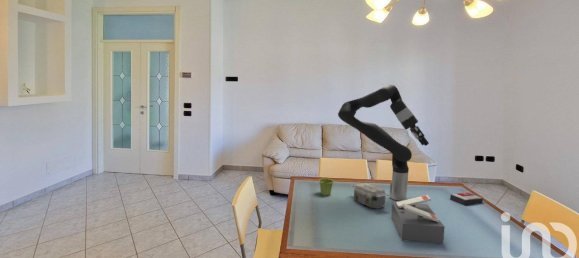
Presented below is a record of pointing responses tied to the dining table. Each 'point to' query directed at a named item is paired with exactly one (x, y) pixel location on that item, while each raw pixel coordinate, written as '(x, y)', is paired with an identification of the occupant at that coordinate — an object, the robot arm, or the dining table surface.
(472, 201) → the calculator
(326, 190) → the plant pot
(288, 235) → the dining table surface
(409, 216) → the rocker switch panel
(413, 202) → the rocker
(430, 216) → the rocker
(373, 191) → the grey boxy piece
